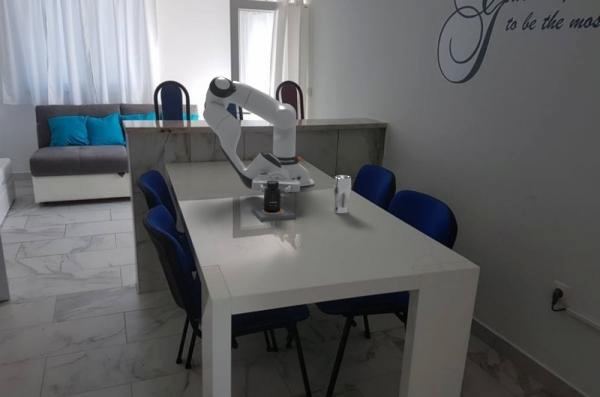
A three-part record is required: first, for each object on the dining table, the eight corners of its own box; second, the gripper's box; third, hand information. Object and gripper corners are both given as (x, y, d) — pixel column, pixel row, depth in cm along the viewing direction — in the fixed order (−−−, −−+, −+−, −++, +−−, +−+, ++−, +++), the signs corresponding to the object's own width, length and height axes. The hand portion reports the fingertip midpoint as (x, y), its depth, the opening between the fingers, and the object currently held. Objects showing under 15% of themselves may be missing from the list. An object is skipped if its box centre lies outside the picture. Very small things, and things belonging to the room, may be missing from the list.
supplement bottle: (271, 214, 184) (271, 184, 181) (260, 210, 189) (260, 181, 185) (284, 211, 189) (284, 182, 185) (272, 207, 193) (273, 178, 190)
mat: (284, 208, 197) (284, 204, 197) (295, 218, 186) (295, 214, 185) (252, 211, 192) (252, 207, 192) (260, 221, 181) (260, 217, 180)
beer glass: (351, 211, 197) (353, 176, 192) (346, 215, 190) (348, 179, 186) (336, 208, 199) (337, 174, 195) (330, 213, 193) (331, 177, 189)
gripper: (301, 189, 204) (300, 198, 191) (254, 187, 205) (249, 196, 191) (301, 175, 202) (300, 183, 189) (254, 173, 203) (249, 181, 190)
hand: (274, 190), depth 190 cm, fingers open, 8 cm apart
